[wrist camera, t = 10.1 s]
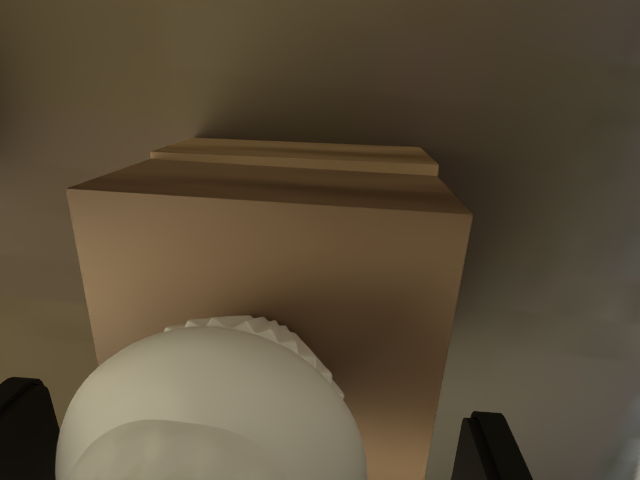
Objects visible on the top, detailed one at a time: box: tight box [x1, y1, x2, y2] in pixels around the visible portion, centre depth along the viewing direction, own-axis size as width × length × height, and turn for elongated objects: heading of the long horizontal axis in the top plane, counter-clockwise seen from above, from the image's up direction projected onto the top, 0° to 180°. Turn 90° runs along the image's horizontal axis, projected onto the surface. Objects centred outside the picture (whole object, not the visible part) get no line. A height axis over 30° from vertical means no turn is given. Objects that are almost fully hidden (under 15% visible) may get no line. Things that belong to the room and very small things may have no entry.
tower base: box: [150, 138, 439, 176], centre depth 18 cm, size 10×10×4 cm
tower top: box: [66, 159, 473, 480], centre depth 14 cm, size 10×10×4 cm
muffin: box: [55, 315, 368, 480], centre depth 8 cm, size 6×6×7 cm
